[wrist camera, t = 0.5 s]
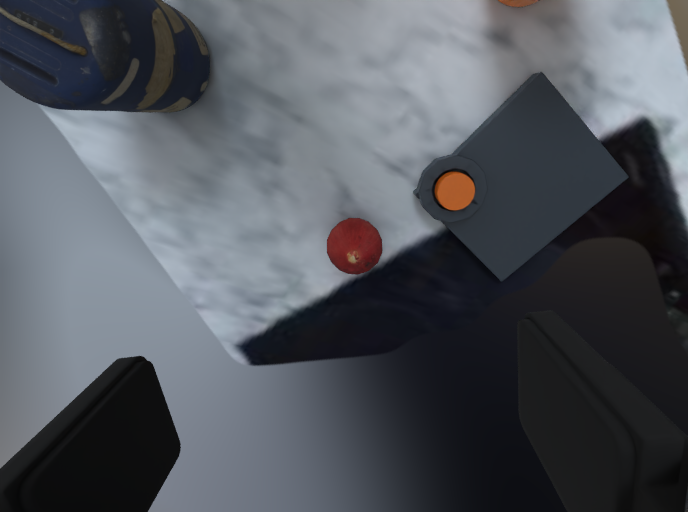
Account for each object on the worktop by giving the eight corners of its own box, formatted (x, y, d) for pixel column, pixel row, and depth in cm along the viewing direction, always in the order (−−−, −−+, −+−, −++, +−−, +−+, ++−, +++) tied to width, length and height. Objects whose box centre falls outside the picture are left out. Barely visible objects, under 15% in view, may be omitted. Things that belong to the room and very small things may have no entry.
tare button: (427, 190, 39) (429, 192, 37) (454, 163, 38) (458, 165, 36) (450, 214, 39) (454, 218, 38) (478, 188, 38) (483, 191, 37)
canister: (155, -16, 37) (-23, -135, 20) (234, 59, 38) (134, 11, 21) (103, 66, 39) (-94, 25, 22) (180, 133, 41) (52, 142, 24)
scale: (403, 185, 42) (406, 191, 38) (525, 64, 37) (541, 58, 34) (494, 276, 45) (505, 289, 42) (617, 174, 40) (639, 179, 37)
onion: (391, 236, 44) (397, 260, 36) (355, 269, 45) (354, 299, 38) (354, 200, 43) (353, 217, 35) (319, 236, 44) (310, 259, 37)
